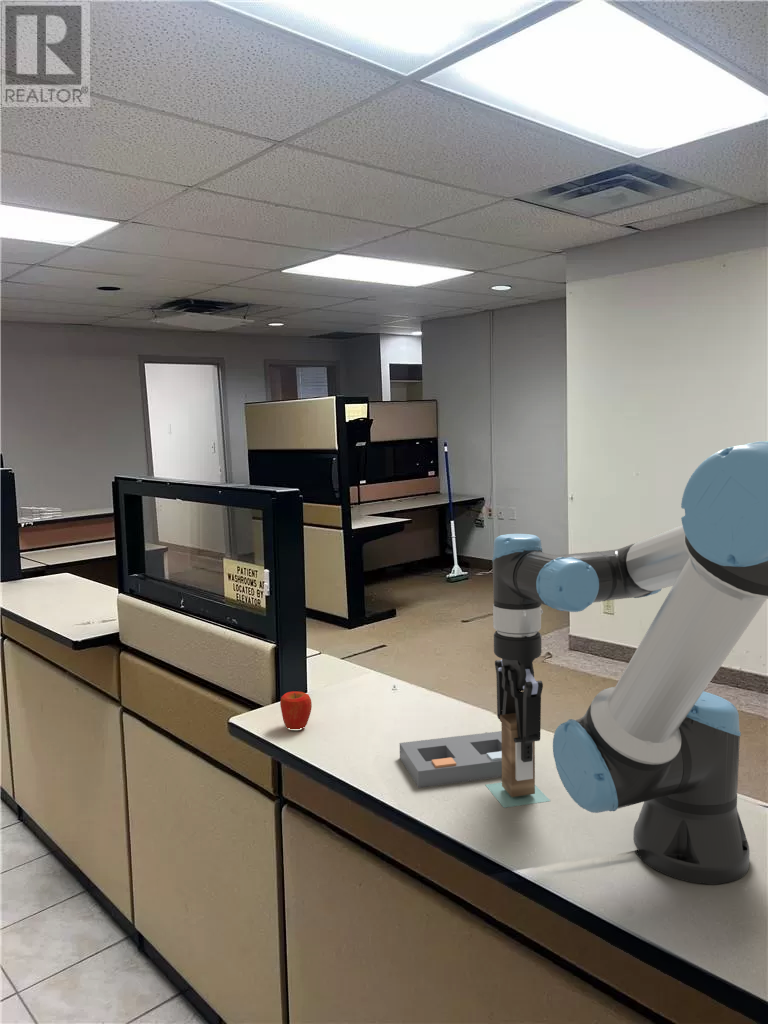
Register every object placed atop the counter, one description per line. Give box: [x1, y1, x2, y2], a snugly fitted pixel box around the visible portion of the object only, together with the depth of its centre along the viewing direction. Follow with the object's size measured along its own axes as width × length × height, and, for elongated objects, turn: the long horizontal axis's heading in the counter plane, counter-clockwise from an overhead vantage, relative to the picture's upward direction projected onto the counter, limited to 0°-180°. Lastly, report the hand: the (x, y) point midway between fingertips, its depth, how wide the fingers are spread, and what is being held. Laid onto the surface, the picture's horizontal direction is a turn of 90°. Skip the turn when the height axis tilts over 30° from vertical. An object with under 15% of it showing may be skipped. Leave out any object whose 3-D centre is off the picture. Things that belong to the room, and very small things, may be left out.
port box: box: [399, 730, 502, 789], centre depth 132 cm, size 12×20×4 cm, turn 104°
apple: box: [279, 690, 313, 729], centre depth 153 cm, size 6×6×8 cm
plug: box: [499, 713, 536, 797], centre depth 120 cm, size 4×4×12 cm
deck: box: [484, 781, 551, 809], centre depth 121 cm, size 8×8×1 cm
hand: (518, 772), depth 121 cm, fingers closed on plug, 4 cm apart
